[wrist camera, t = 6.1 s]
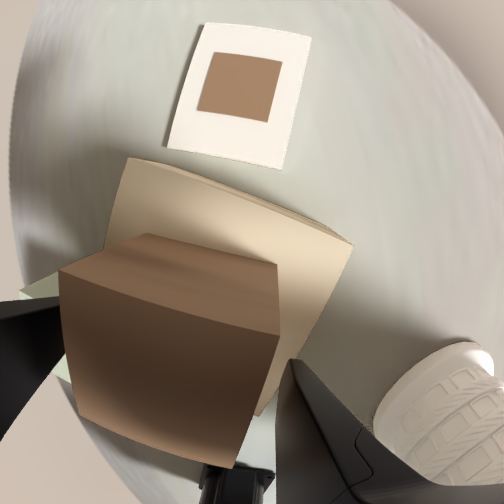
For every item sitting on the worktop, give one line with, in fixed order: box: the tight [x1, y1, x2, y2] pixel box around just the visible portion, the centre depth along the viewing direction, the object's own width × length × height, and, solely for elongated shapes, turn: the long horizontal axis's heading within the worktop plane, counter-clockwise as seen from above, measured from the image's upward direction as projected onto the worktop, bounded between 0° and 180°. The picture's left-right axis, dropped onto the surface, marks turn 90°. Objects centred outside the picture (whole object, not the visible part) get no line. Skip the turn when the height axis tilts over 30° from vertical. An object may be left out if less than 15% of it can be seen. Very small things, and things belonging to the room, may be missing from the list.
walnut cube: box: [58, 233, 281, 469], centre depth 8 cm, size 5×5×5 cm
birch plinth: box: [103, 157, 354, 417], centre depth 13 cm, size 9×9×5 cm
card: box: [167, 22, 312, 171], centre depth 12 cm, size 8×6×1 cm
